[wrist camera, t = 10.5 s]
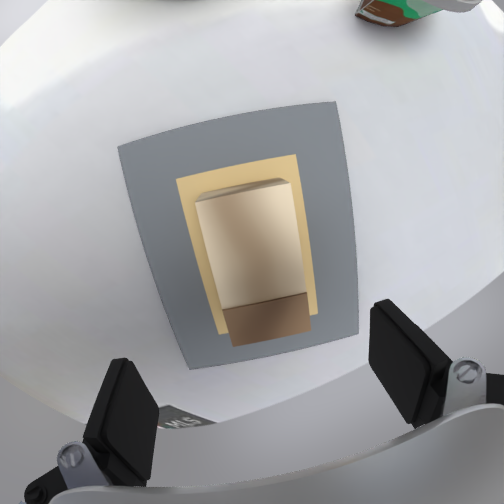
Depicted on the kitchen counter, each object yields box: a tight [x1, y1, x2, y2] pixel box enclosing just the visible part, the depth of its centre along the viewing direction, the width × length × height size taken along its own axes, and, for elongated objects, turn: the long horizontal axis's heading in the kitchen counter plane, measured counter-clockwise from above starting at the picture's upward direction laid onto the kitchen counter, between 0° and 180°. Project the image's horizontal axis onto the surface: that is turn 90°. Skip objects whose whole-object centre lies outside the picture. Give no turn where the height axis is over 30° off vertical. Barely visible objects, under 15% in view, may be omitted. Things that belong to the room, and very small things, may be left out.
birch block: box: [195, 177, 311, 347], centre depth 20 cm, size 6×10×4 cm, turn 11°
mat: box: [118, 101, 359, 370], centre depth 22 cm, size 16×20×1 cm
